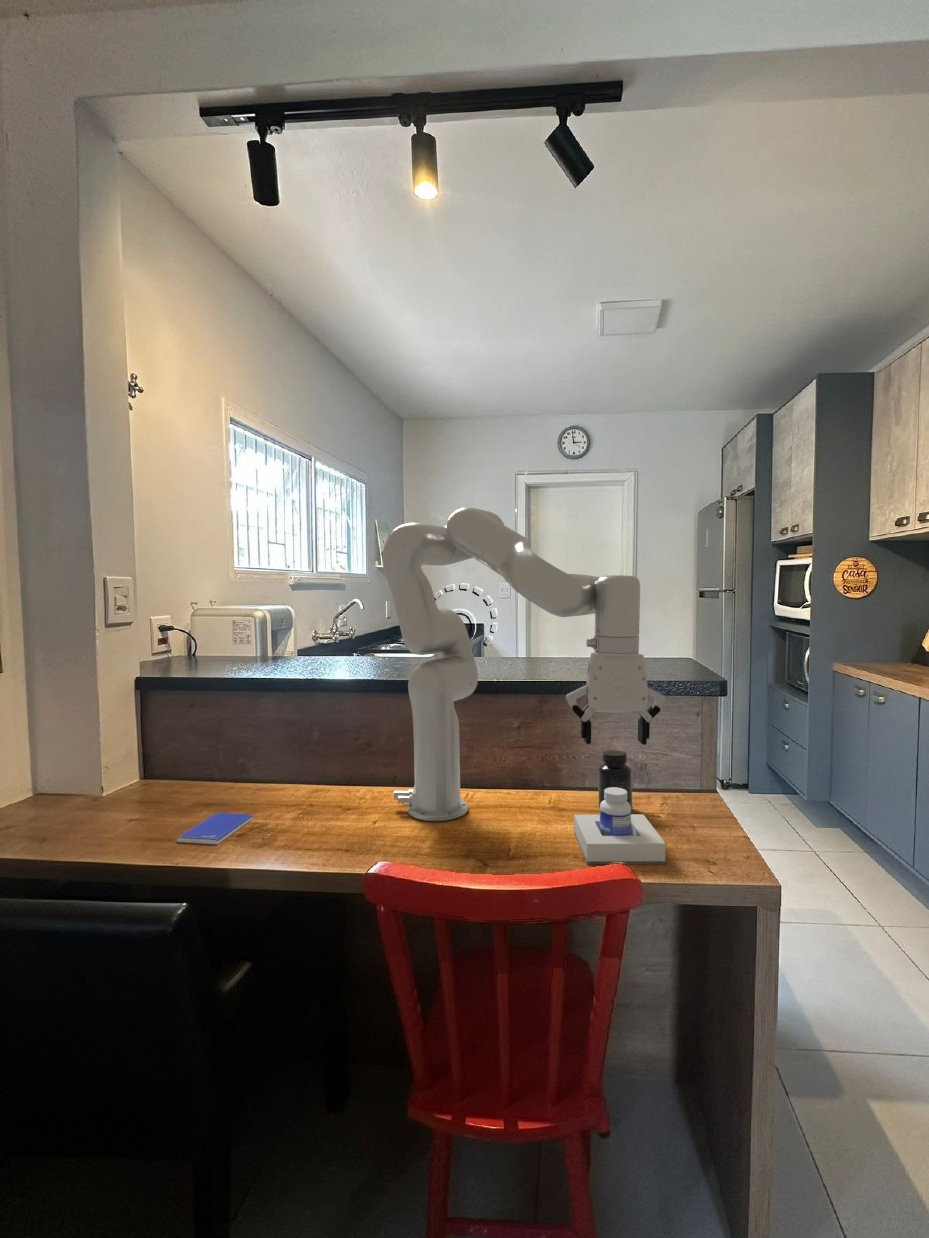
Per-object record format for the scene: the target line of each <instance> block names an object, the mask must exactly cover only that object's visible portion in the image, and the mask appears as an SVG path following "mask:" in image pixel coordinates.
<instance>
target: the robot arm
mask: <svg viewBox="0 0 929 1238" xmlns="http://www.w3.org/2000/svg"><path fill="white" fill-rule="evenodd" d="M530 545H531V544H530V541H529V539H528V538H527V537H526V536H524V535H521V534H520V533H518V532H517V531H515V530H513V529H511V528H509V527H508V526H506V525H505V523H504V521H503V520H502V519H501V517H500V516H499V515H497V514H496V513H494V512H491V511H489V510H486V509H485V510H484V509H479V508H476V507H461V508H458V509H456V510H455V511H453V512H452V513H451V514H450V515H449V517H448V518H447V521H446V525H445V526H440V525H434V524H430V523H423V522H408V523H403V524H401V525H399V526H397V527H395V528H394V529H393V530H392V531H391V533H389V535H388V537H387V539H386V541H385V543H384V546H383V549H382V566H383V567H382V568H383V572H384V576H385V578H386V581H387V585H388V588H389V590H390V593H391V597H392V601H393V604H394V609H395V614H396V616H397V621H398V625H399V629H400V633H401V636H402V640H403V643H404V646H405V647H406V649H407V650H408V651H409V653H411V654H413V655H419V656H427V655H431V654H433V655H434V658H435V659H431V660H426V661H425V662H422V663H420V664H419V665H417V666H416V667H415V668H414V669H413V670H412V671H411V673H410V674H409V678H408V681H407V682H408V683H407V688H408V689H407V691H408V696H409V701H410V706H411V712H412V724H413V725H412V728H413V729H412V730H413V731H412V732H413V734H412V735H413V764H414V765H413V767H414V768H413V769H414V770H413V771H414V785H413V788H410V789H408V790H393V801H397V803H398V804H405V803H408V804H407V814H409V816H411V817H412V818H414V819H417V820H420V821H426V822H428V821H429V822H443V821H445V822H446V821H451V820H454V819H458V818H460V817H462V816H464V815H466V814H467V812H468V809H469V808H468V807H469V805H468V802H467V801H466V800H465V799H463V798H461V762H460V761H461V759H460V758H461V757H460V756H461V754H460V753H461V751H460V748H461V746H460V723H459V722H460V721H459V717H458V715H457V711H456V709H455V704H454V702H455V701H459V700H463V699H466V698H468V697H469V696H471V695H472V694H473V693H474V692H475V690H476V689H477V686H478V681H479V676H478V675H479V674H478V668H477V663H476V660H475V656H474V652H473V651H474V650H473V649H472V648H473V647H472V644H471V641H470V637H469V633H468V630H467V627H466V625H465V622H464V621H463V619H462V617H461V616H460V615H459V613H456V611H453V610H452V609H449V608H439V607H438V605H437V602H436V599H435V596H434V591H433V588H432V585H431V583H430V581H429V579H428V578H427V576H426V574H425V573H424V572H423V569H422V565H424V566H448V565H453V564H456V563H459V562H463V561H468V560H470V559H474V560H476V561H478V562H479V563H480V564H483V565H484V566H486V567H487V568H489V569H490V570H491V571H493V572H495V574H496V573H497V574H498V575H500V576H501V577H502V578H503V579H504V581H505V582H506V583H507V584H508V585H510V587H511V588H512V589H513V590H514V591H516V592H517V593H518V594H519V595H520V596H522V597H523V598H525V599H527V600H528V601H529V602H531V603H533V604H534V605H536V606H537V607H538V608H540V609H542V610H544V611H545V612H547V613H549V614H551V615H553V616H556V617H560V618H569V617H570V618H571V617H579V616H587V615H594V635H593V637H592V638H591V639H588V638H587V639H586V647H587V648H589V647H590V648H591V649H593V650H594V652H591V653H590V656H589V661H588V667H587V674H586V683H585V685H583V686H581V687H579V688H577V689H575V690H572V691H571V692H569V693H567V694H566V695H565V699H566V701H567V702H568V705H569V707H570V708H571V710H572V712H574V713H575V715H576V716H577V717H578V718H579V719H580V738H581V739H583V741H584V742H585V744H586V745H590V744H591V743H592V721H591V720H590V719H591V717H592V716H593V715H594V714H595V713H622V714H623V713H624V714H625V713H627V714H628V713H632V714H633V713H635V714H636V713H638V714H639V716H640V717H639V718H638V719H637V741H638V742H639V743H640V744H642V745H644V746H646V745H647V741H648V740H650V728H651V727H650V723H651V722H653V719H654V718H655V717H656V716H657V715H658V714H659V713H660V712H661V709H662V708H663V705H664V703H666V700H667V697H666V696H665V695H663V694H662V693H660V692H658V691H657V690H654V689H652V688H651V687H648V678H647V666H646V660H645V655H644V654H642V653H640V620H641V619H640V617H641V616H640V613H641V612H640V611H641V609H640V608H641V581H640V580H639V579H638V577H636V576H633V575H621V574H619V575H615V574H614V575H603V576H595V575H594V576H593V575H589V574H588V575H587V574H577V573H567V572H565V571H563V570H561V569H560V568H558V567H556V566H555V565H553V564H551V563H550V562H548V561H546V560H544V559H543V558H541V557H540V556H539V555H537V554H536V553H535V552H534V551H533V550H532V549H531V547H530ZM583 696H585V704H586V705H585V706H584V707H583V709H582V708H580V707H579V704H578V703H577V699H579V698H581V697H583ZM648 697H650V698H652V699H653V700H654V701H653V704H651V706H649V707H648V705H649V702H648V701H649V698H648ZM647 708H648V709H647ZM647 739H648V740H647Z"/></svg>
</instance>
